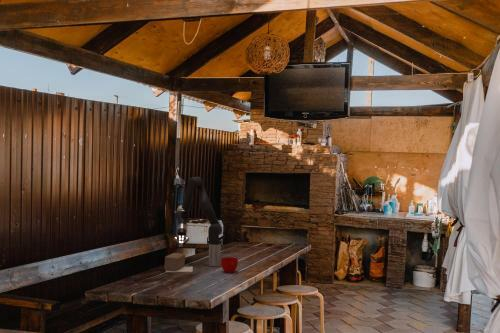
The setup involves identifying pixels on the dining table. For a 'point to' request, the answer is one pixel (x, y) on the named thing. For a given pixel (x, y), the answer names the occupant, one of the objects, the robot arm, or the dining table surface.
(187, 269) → the pale grey mat
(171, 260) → the wooden block
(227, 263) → the ceramic cup
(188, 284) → the dining table surface
